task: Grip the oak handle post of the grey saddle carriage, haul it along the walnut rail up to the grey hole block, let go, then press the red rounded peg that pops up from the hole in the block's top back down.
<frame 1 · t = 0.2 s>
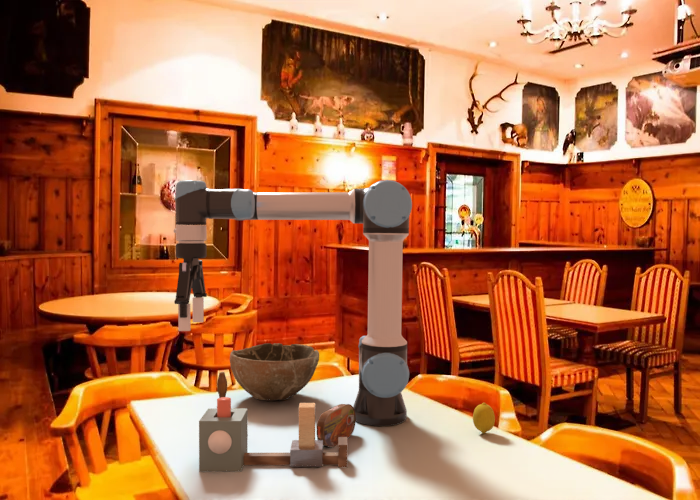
hand: (191, 326, 149), 28 cm above the table, fingers open, 13 cm apart
bowl: (275, 399, 183), on the table
rail: (291, 463, 132), on the table
grey hole block: (224, 463, 132), on the table
hand bell: (222, 435, 150), on the table
red rounded peg: (224, 416, 131), point 10 cm above the table, slide at 0.0 cm
lemon: (483, 434, 152), on the table
tin: (336, 441, 146), on the table
carriage: (307, 433, 132), point 7 cm above the table, slide at 0.0 cm
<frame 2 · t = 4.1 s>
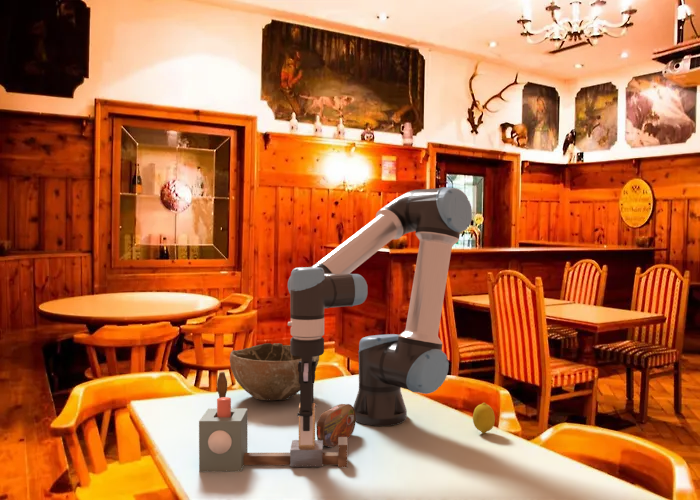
hand: (307, 440, 132), 5 cm above the table, fingers closed on carriage, 3 cm apart
carriage: (307, 433, 132), point 7 cm above the table, slide at 0.0 cm, touching gripper
everything else where it was.
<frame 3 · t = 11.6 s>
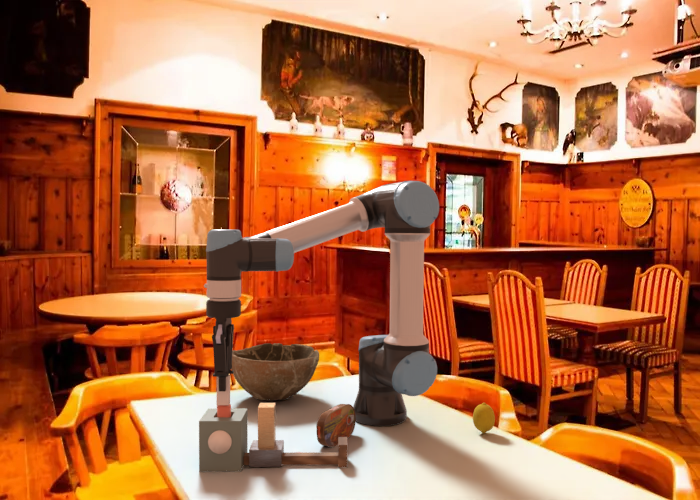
hand: (223, 404, 131), 13 cm above the table, fingers closed
red rounded peg: (224, 423, 131), point 9 cm above the table, slide at 1.4 cm, touching gripper
carriage: (266, 433, 132), point 7 cm above the table, slide at 9.0 cm
everything else where it was.
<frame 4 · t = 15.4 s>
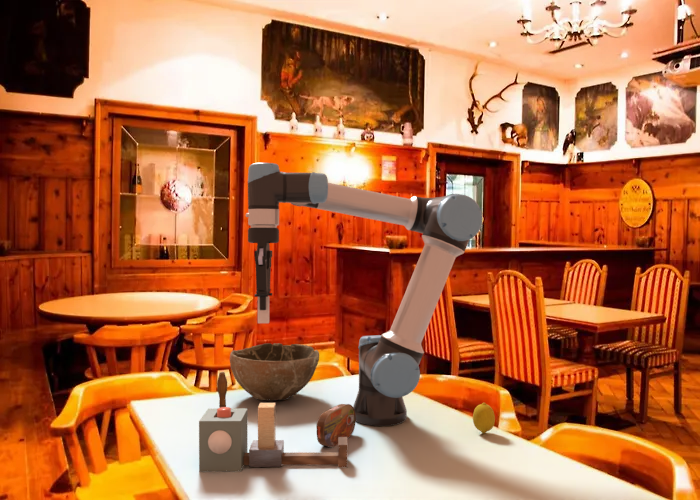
hand: (263, 322, 145), 29 cm above the table, fingers closed
red rounded peg: (224, 426, 131), point 8 cm above the table, slide at 2.2 cm
everything else where it was.
at the end: carriage slide at 9.0 cm; red rounded peg slide at 2.2 cm; the gripper is holding nothing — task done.
